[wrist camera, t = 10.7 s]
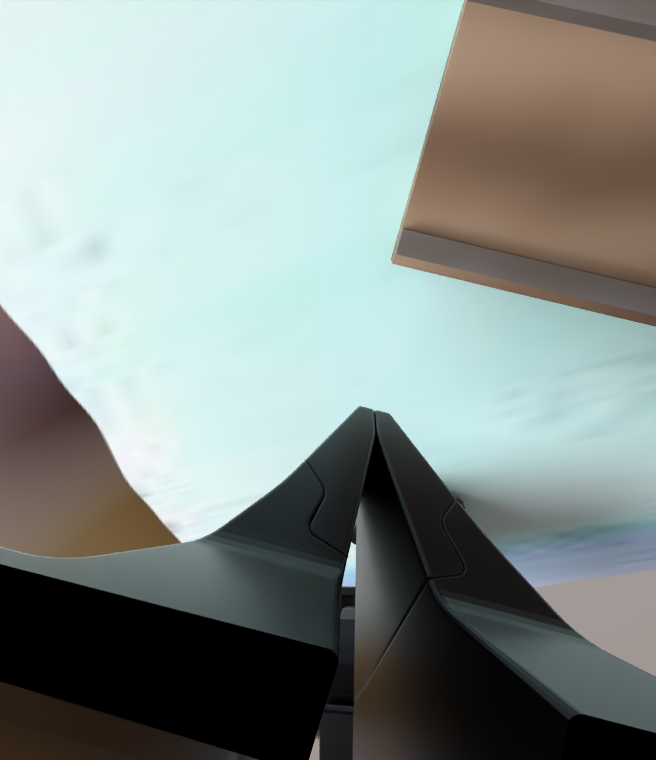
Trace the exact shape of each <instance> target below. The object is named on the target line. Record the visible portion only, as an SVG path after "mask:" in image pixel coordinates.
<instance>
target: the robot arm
mask: <svg viewBox="0 0 656 760" xmlns="http://www.w3.org/2000/svg"><path fill="white" fill-rule="evenodd" d="M356 519H357V520H356ZM351 542H352V543H353V544H356V587H343V586H342V582H343V576H344V571H345V566H346V561H347V558H348V553H349V549H350V545H351ZM315 738H318V739H320V760H656V676H654V675H652V674H650V673H648V672H646V671H644V670H642V669H640V668H638V667H636V666H634V665H632V664H629V663H628V662H626V661H624V660H622V659H619V658H618V657H616V656H614V655H612V654H610V653H608V652H606V651H604V650H602V649H601V648H599V647H597V646H596V645H594V644H593V643H591V642H590V641H588V640H587V639H585V638H584V637H583V636H582V635H580V634H579V633H578V632H576V631H575V630H574V629H573V628H571V626H569V625H568V624H567V623H566V622H565V621H564V620H563V619H562V618H561V617H560V616H559V615H558V614H557V613H556V612H555V611H554V610H553V609H552V608H551V606H550V605H548V603H547V602H546V601H545V600H544V599H543V598H542V597H541V596H540V594H539V593H538V592H537V591H536V590H535V589H534V588H533V587H532V586H531V585H530V584H529V583H528V581H527V580H526V579H525V578H524V577H523V576H522V575H521V574H520V573H519V572H518V571H517V569H516V568H515V567H514V566H513V565H512V564H511V563H510V562H509V561H508V560H507V559H506V557H505V556H504V555H503V554H502V553H501V552H500V551H499V550H498V549H497V547H496V546H495V545H494V544H493V543H492V542H491V541H490V540H489V538H488V537H487V536H486V535H485V534H484V533H483V532H482V530H481V529H480V528H479V527H478V525H477V524H476V523H475V522H474V521H473V519H472V518H471V517H470V516H469V514H468V513H467V512H466V511H465V507H464V504H463V502H462V501H461V500H458V499H456V498H455V497H454V496H453V494H452V493H451V492H450V490H449V489H448V488H447V487H446V485H445V484H444V483H443V481H442V480H441V479H440V478H439V476H438V475H437V474H436V472H435V471H434V470H433V469H432V467H431V466H430V465H429V464H428V462H427V461H426V460H425V458H424V457H423V456H422V455H421V453H420V452H419V451H418V449H417V448H416V447H415V446H414V444H413V443H412V442H411V440H410V439H409V438H408V437H407V435H406V434H405V433H404V432H403V430H402V429H401V428H400V426H399V425H398V424H397V423H396V421H395V420H394V419H393V417H392V416H391V415H390V414H389V413H385V412H381V411H374V410H373V409H369V408H365V407H361V406H360V407H358V408H357V409H356V410H355V411H354V412H353V413H352V414H351V415H350V416H349V417H348V418H347V419H346V420H345V421H344V422H343V423H342V424H341V425H340V426H339V427H338V428H337V429H336V430H335V431H334V432H333V433H332V434H331V435H330V436H329V437H328V438H327V439H326V440H325V441H324V442H323V443H322V444H321V445H320V446H319V447H318V448H317V449H316V450H315V451H314V452H313V453H312V454H311V455H310V456H309V457H308V458H307V459H306V460H305V462H303V463H302V464H301V465H300V466H299V467H298V468H297V469H296V470H295V471H294V472H293V473H292V474H291V475H289V476H288V477H287V478H286V479H285V480H284V481H283V482H282V483H280V484H279V485H278V486H277V487H275V488H274V489H273V490H271V491H270V492H269V493H268V494H266V495H265V496H263V497H262V498H261V499H259V500H258V501H257V502H255V503H254V504H252V505H251V506H250V507H248V508H247V509H246V510H244V511H243V512H241V513H240V514H239V515H237V516H236V517H235V518H233V519H232V520H230V521H229V522H228V523H226V524H225V525H224V526H222V527H221V528H219V529H218V530H216V531H214V532H213V533H211V534H209V535H207V536H205V537H203V538H201V539H198V540H195V541H191V542H185V543H179V544H172V545H165V546H159V547H153V548H146V549H139V550H133V551H126V552H119V553H112V554H106V555H100V556H90V557H81V558H54V557H41V556H36V555H31V554H26V553H22V552H18V551H14V550H10V549H7V548H3V547H0V760H309V757H310V754H311V751H312V747H313V744H314V741H315Z"/></svg>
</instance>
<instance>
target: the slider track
mask: <svg viewBox="0 0 656 760" xmlns="http://www.w3.org/2000/svg"><path fill="white" fill-rule="evenodd" d="M391 260H392V264H396V265H401V266H405V267H409V268H413V269H417V270H422V271H426V272H430V273H434V274H438V275H442V276H447V277H451V278H455V279H459V280H463V281H468V282H472V283H476V284H480V285H484V286H489V287H493V288H497V289H501V290H505V291H509V292H514V293H518V294H522V295H526V296H530V297H535V298H539V299H543V300H547V301H551V302H555V303H560V304H564V305H568V306H572V307H576V308H581V309H585V310H589V311H593V312H597V313H602V314H606V315H610V316H614V317H618V318H622V319H627V320H631V321H635V322H639V323H643V324H648V325H652V326H656V0H464V3H463V6H462V10H461V14H460V17H459V21H458V24H457V28H456V31H455V35H454V38H453V42H452V45H451V49H450V53H449V56H448V60H447V63H446V67H445V70H444V74H443V77H442V81H441V84H440V88H439V91H438V95H437V99H436V102H435V106H434V109H433V113H432V116H431V120H430V123H429V127H428V130H427V134H426V138H425V141H424V145H423V148H422V152H421V155H420V159H419V162H418V166H417V169H416V173H415V176H414V180H413V184H412V187H411V191H410V194H409V198H408V201H407V205H406V208H405V212H404V215H403V219H402V223H401V226H400V230H399V233H398V237H397V240H396V244H395V247H394V251H393V254H392V258H391Z"/></svg>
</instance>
